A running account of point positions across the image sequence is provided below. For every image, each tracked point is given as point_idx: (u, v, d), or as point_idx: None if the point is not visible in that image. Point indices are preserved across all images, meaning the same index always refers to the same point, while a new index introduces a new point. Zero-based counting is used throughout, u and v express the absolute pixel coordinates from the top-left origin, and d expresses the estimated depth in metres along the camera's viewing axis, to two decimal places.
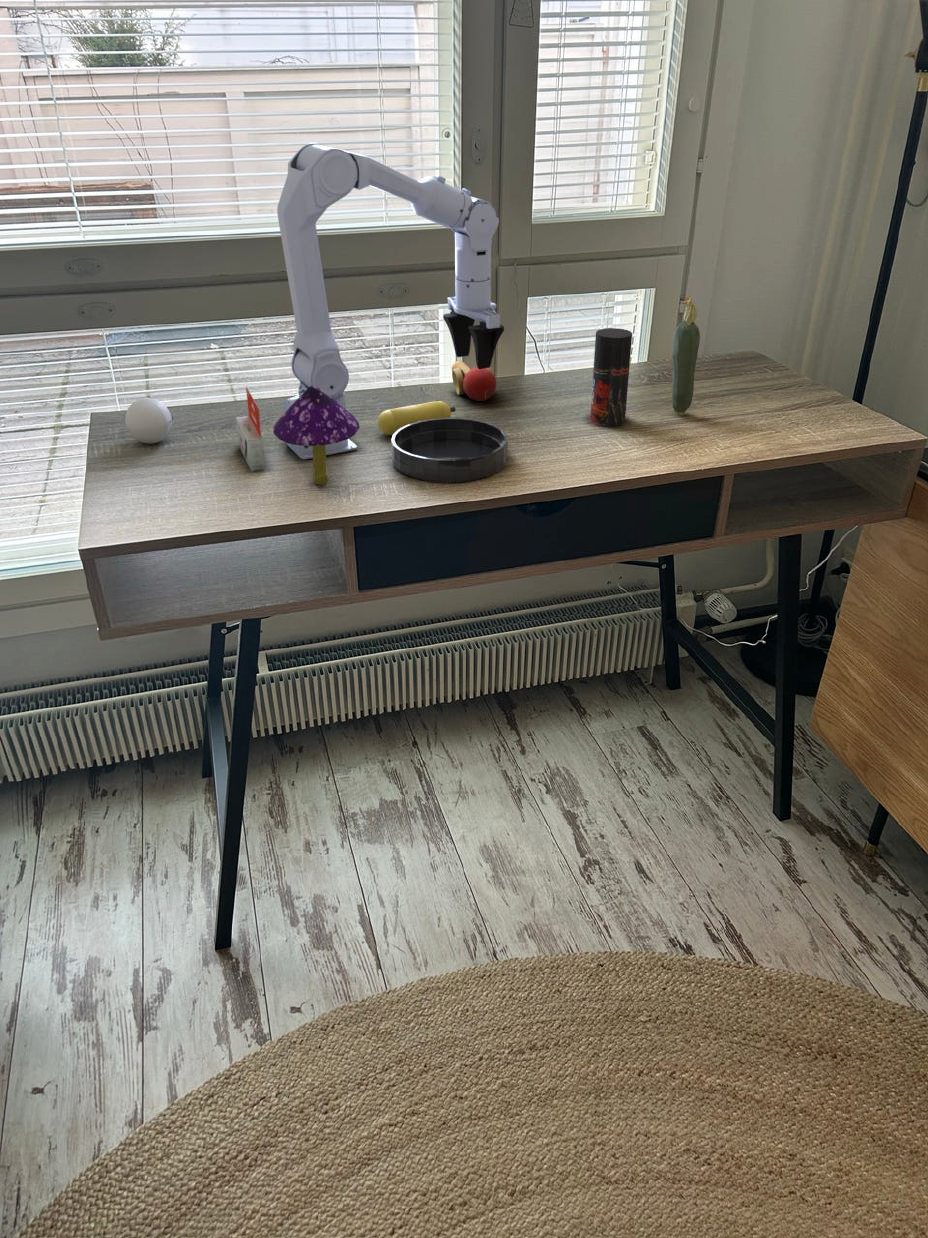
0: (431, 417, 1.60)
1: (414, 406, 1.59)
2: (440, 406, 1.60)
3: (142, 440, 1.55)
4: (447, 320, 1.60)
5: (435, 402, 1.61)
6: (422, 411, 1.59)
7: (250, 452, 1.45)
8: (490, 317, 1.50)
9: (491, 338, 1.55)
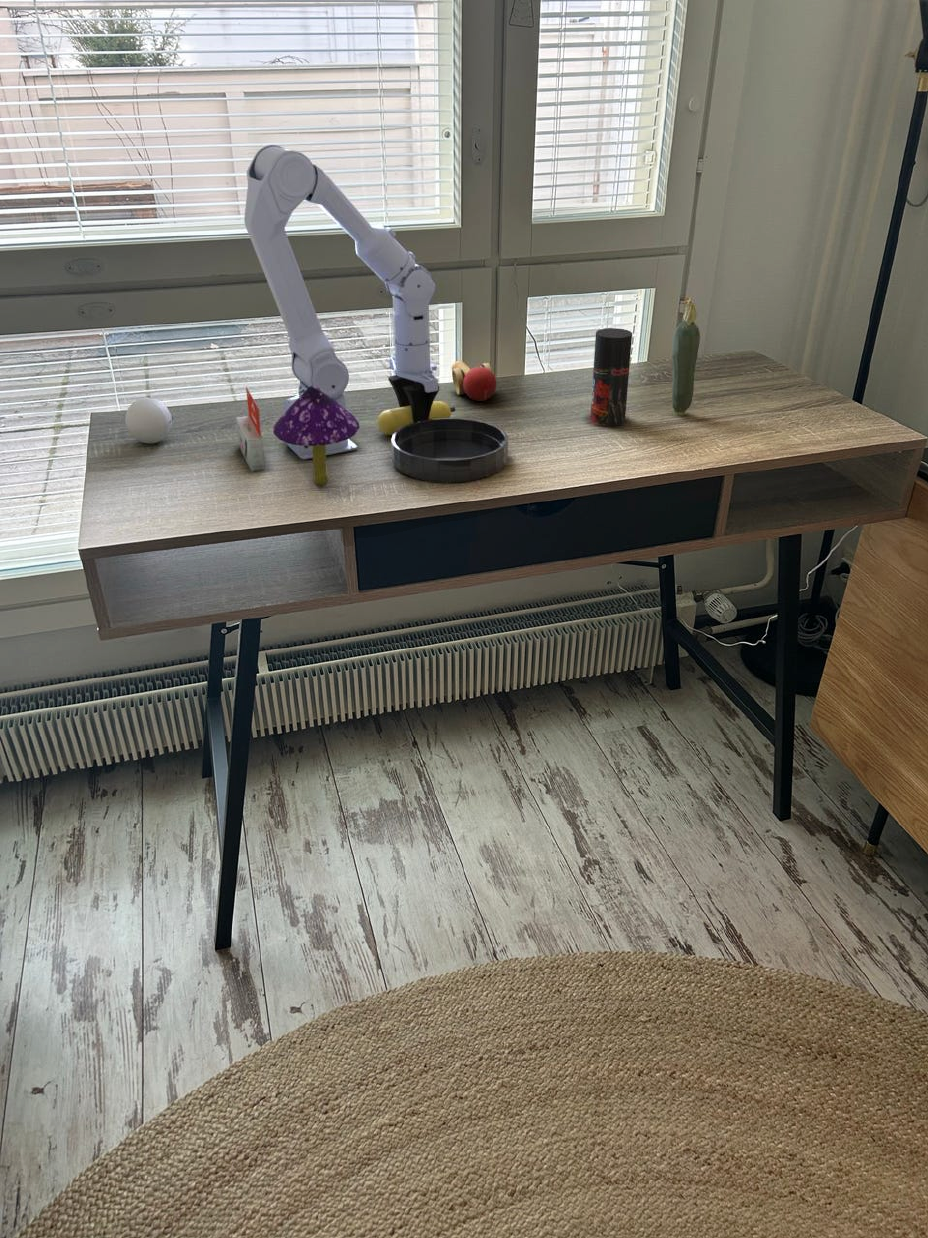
0: (431, 417, 1.60)
1: None
2: (440, 406, 1.61)
3: (142, 440, 1.55)
4: (392, 383, 1.59)
5: (435, 402, 1.61)
6: None
7: (250, 452, 1.45)
8: (428, 381, 1.51)
9: (427, 397, 1.57)
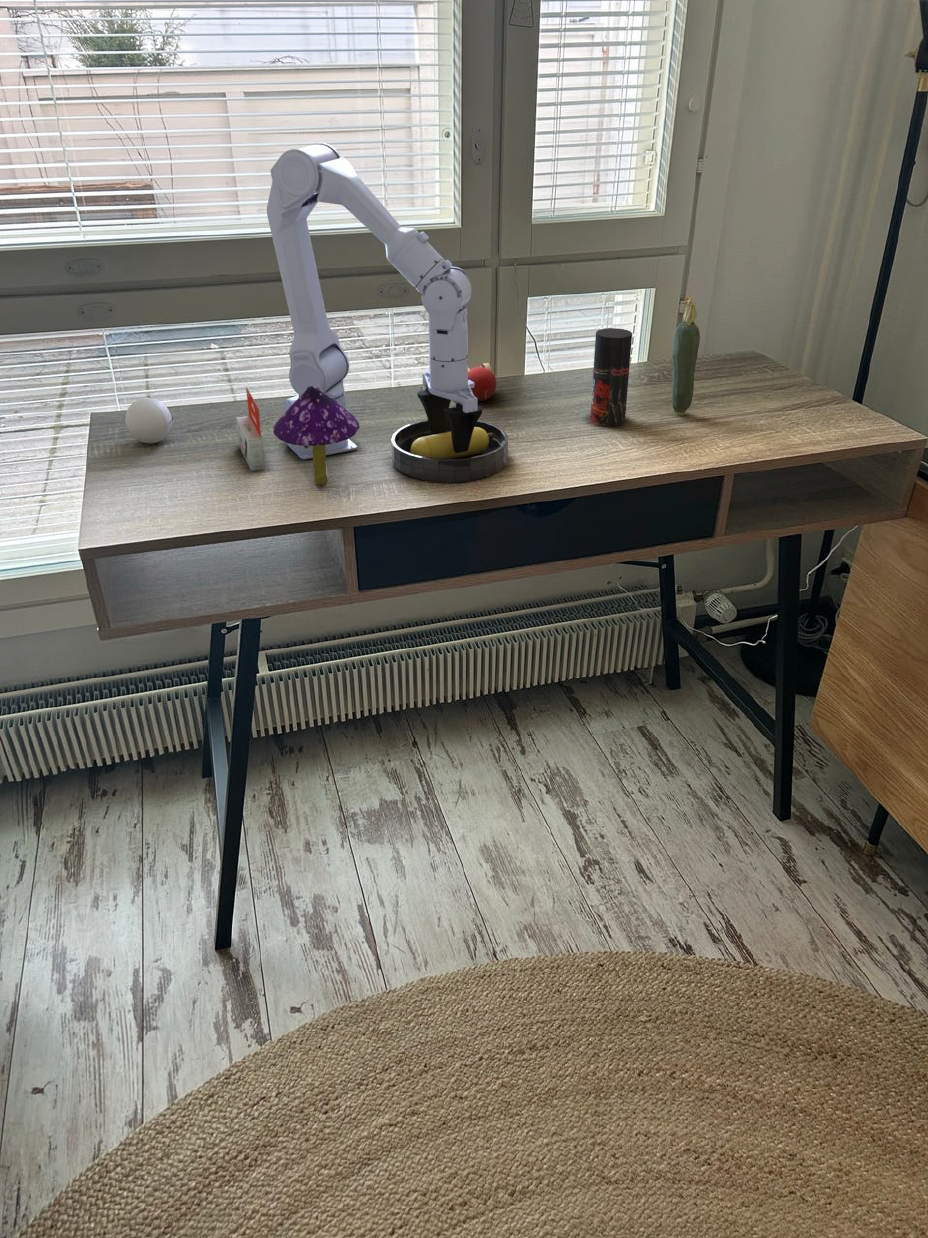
0: None
1: (450, 433, 1.48)
2: (478, 433, 1.49)
3: (142, 440, 1.55)
4: (421, 399, 1.48)
5: None
6: None
7: (250, 452, 1.45)
8: (467, 401, 1.38)
9: (468, 420, 1.43)
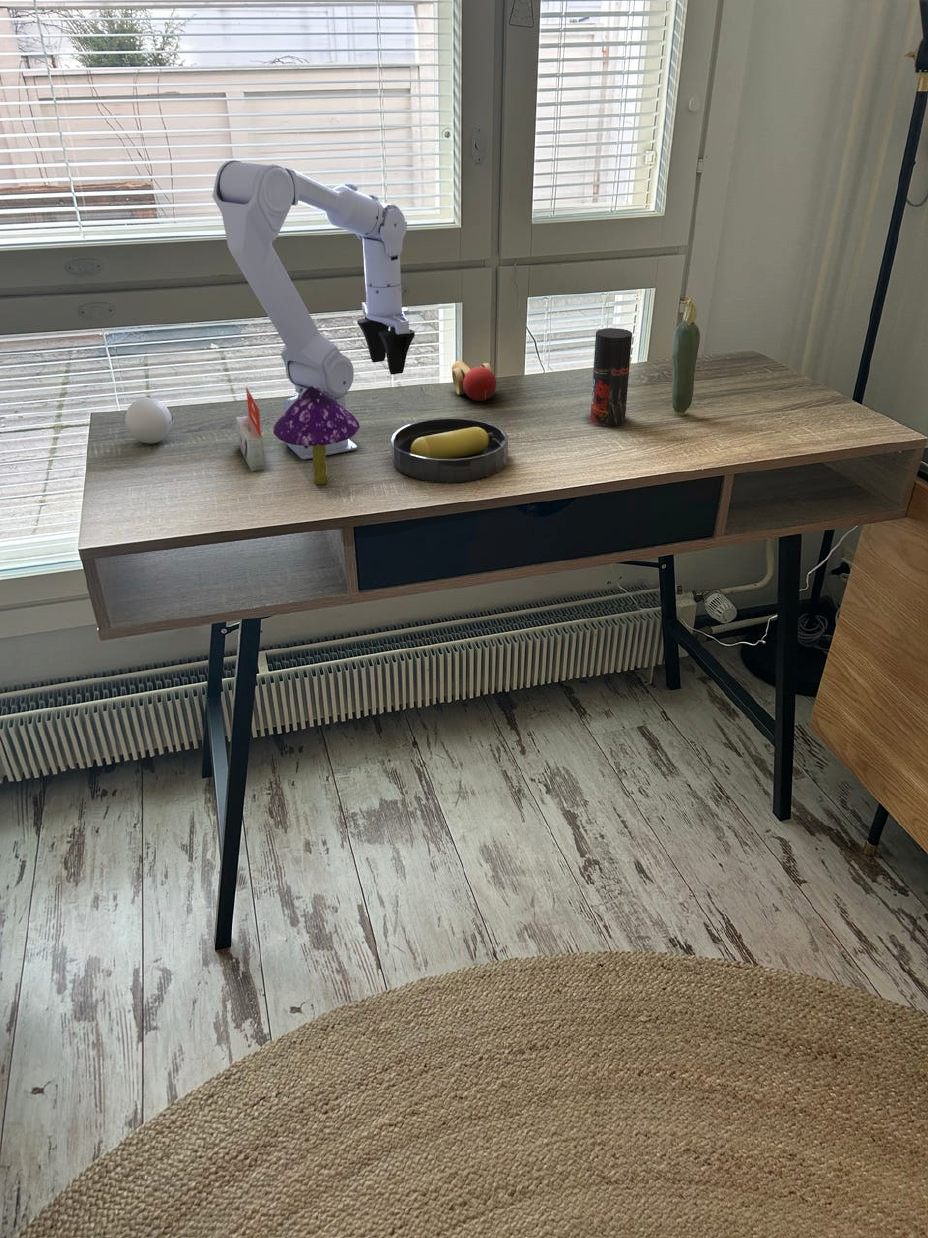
0: (468, 444, 1.48)
1: (450, 433, 1.48)
2: (477, 433, 1.49)
3: (142, 440, 1.55)
4: (361, 325, 1.60)
5: (472, 428, 1.49)
6: (459, 439, 1.47)
7: (250, 452, 1.45)
8: (398, 323, 1.50)
9: (402, 343, 1.55)
